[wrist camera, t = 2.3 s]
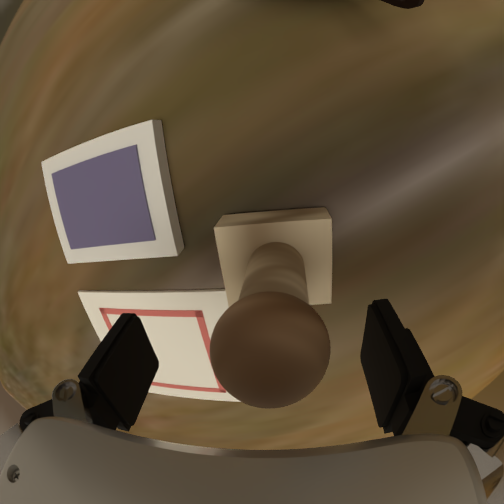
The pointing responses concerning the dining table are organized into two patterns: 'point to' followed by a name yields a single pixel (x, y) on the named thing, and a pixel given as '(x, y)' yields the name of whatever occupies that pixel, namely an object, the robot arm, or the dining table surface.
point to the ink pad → (115, 197)
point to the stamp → (273, 305)
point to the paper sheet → (169, 334)
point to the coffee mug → (405, 3)
